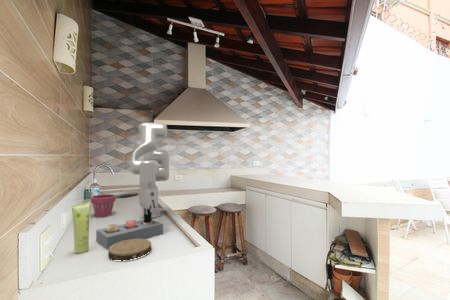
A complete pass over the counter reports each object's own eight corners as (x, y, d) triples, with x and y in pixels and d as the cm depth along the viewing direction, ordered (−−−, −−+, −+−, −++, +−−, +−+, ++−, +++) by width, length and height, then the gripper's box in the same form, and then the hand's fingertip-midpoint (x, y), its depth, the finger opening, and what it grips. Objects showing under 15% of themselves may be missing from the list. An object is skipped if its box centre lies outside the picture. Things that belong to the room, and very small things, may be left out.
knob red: (133, 228, 114) (133, 219, 114) (137, 230, 111) (137, 221, 111) (124, 230, 111) (124, 221, 111) (128, 232, 108) (128, 223, 108)
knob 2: (149, 228, 120) (149, 220, 120) (153, 230, 117) (153, 222, 117) (141, 231, 117) (141, 222, 117) (145, 233, 114) (145, 223, 114)
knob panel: (149, 227, 125) (149, 218, 125) (163, 233, 115) (163, 223, 115) (96, 241, 106) (96, 230, 106) (107, 249, 96) (107, 237, 97)
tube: (85, 253, 93) (85, 204, 93) (71, 254, 92) (71, 205, 92) (90, 248, 98) (90, 201, 99) (77, 249, 97) (77, 202, 97)
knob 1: (115, 232, 108) (115, 223, 108) (119, 235, 105) (119, 225, 105) (105, 235, 105) (105, 225, 105) (108, 237, 101) (108, 227, 102)
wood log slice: (104, 252, 95) (104, 244, 95) (143, 242, 104) (143, 236, 104) (113, 266, 82) (113, 258, 82) (157, 254, 92) (157, 246, 92)
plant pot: (119, 214, 154) (119, 195, 155) (98, 219, 142) (98, 198, 143) (107, 211, 162) (107, 193, 162) (86, 216, 150) (86, 196, 150)
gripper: (161, 185, 114) (162, 223, 114) (147, 183, 125) (147, 218, 124) (147, 187, 109) (147, 226, 109) (133, 185, 120) (133, 221, 119)
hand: (147, 222), depth 116 cm, fingers closed
